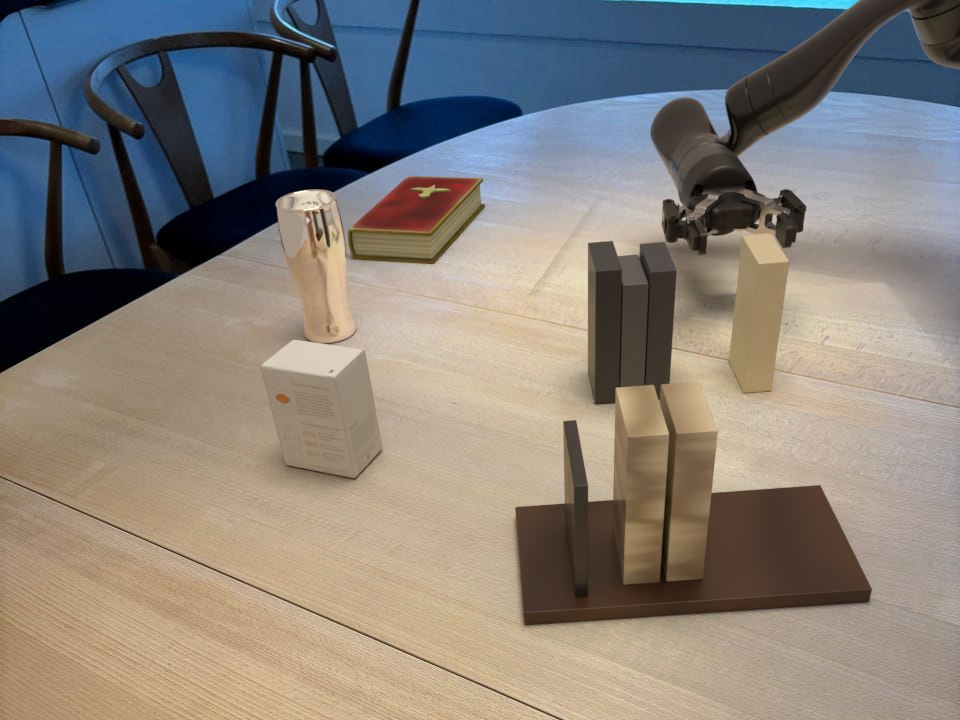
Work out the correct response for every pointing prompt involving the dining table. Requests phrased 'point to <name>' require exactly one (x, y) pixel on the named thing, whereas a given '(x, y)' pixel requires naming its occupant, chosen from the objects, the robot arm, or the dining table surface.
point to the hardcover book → (417, 220)
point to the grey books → (629, 318)
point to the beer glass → (317, 262)
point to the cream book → (758, 311)
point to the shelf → (733, 568)
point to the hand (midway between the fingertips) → (746, 241)
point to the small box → (323, 407)
